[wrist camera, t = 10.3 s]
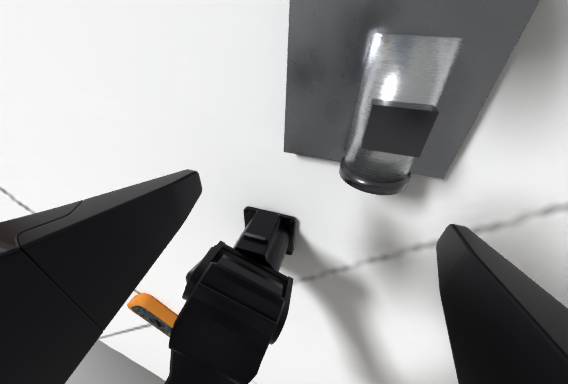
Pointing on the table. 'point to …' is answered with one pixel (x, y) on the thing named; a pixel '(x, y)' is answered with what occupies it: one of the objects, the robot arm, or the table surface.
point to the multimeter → (153, 312)
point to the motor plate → (345, 59)
